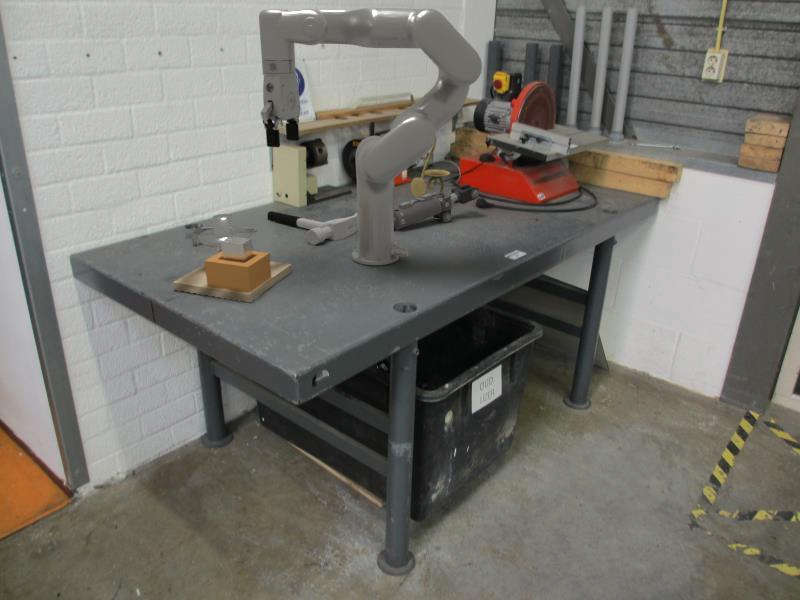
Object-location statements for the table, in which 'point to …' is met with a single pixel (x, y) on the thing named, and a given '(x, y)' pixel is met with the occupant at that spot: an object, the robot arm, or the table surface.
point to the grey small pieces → (199, 230)
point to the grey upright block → (237, 249)
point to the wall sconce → (419, 185)
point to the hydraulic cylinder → (433, 206)
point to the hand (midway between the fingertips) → (283, 143)
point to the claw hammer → (319, 226)
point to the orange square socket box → (231, 268)
